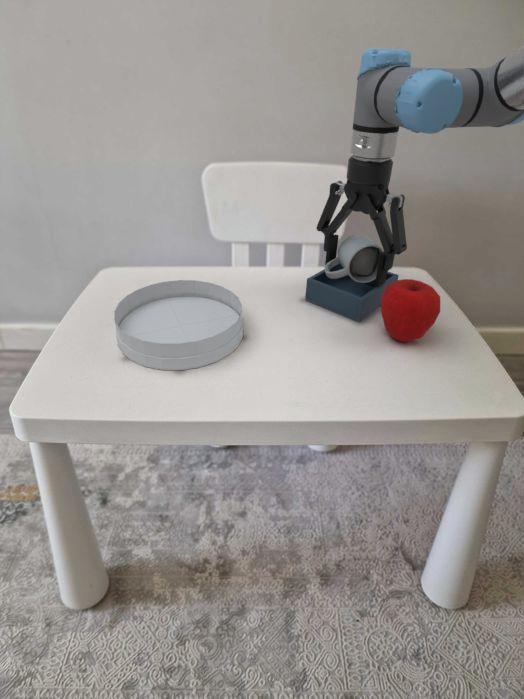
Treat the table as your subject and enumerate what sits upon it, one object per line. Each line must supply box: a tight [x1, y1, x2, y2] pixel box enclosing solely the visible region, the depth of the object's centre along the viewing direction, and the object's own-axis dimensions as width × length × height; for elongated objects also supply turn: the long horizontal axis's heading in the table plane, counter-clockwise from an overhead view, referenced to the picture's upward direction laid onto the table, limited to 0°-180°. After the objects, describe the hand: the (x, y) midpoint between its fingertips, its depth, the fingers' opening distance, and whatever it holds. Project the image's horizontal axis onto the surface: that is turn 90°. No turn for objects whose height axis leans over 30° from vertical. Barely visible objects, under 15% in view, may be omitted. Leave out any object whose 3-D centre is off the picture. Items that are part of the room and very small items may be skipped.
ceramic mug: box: [323, 234, 384, 283], centre depth 88 cm, size 11×8×8 cm
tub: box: [304, 264, 400, 323], centre depth 91 cm, size 13×14×5 cm
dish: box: [113, 279, 244, 371], centre depth 80 cm, size 22×22×5 cm
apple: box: [380, 278, 441, 343], centre depth 78 cm, size 10×10×11 cm
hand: (353, 275), depth 90 cm, fingers closed on ceramic mug, 11 cm apart
